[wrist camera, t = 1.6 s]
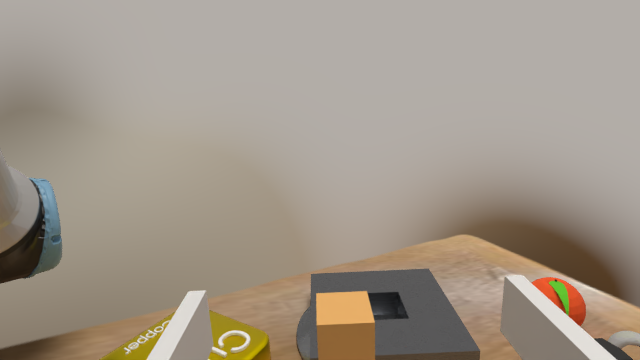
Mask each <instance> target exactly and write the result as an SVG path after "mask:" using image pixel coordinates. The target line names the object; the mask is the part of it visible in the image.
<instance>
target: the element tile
mask: <svg viewBox="0 0 640 360" xmlns="http://www.w3.org/2000/svg"><path fill="white" fill-rule="evenodd" d="M175 313H176V312H174V313H172V314H171V315H169V316H168V317H166V318H164V319H163V320H161V321H160V322H158V323H157V324H155V325H153V326H152V327H150V328H149V329H147V330H145V331H144V332H142V333H141V334H139V335H137V336H136V337H134V338H133V339H131V340H129V341H128V342H126V343H125V344H123V345H122V346H120V347H118V348H117V349H115V350H114V351H112V352H110V353H109V354H107V355H106V356H104V357H102V358H101V359H99V360H146V359H147V358H148V356H149V355H150V353H151V351H152V350H153V348H154V346H155V345H156V343H157V342H158V340H159V338H160V337H161V335H162V334H163V332H164V330H165V329H166V327H167V325H168V324H169V322H170V321H171V319H172V317H173V316H174V314H175ZM209 315H210V322H211V330H212V337H213V347H212V350H211V352H210V355H209V357H208V360H271V356H270V344H269V336H268V335H267V334H266V333H265V332H264V331H262V330H259V329H257V328H254V327H252V326H249V325H247V324H244V323H241V322H239V321H236V320H234V319H231V318H229V317H226V316H223V315H221V314H218V313H216V312H213V311H211V310H209Z"/></svg>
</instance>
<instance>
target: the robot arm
mask: <svg viewBox="0 0 640 360" xmlns="http://www.w3.org/2000/svg"><path fill="white" fill-rule="evenodd" d="M60 234H61V228H60V220H59V213H58V208H57V203H56V199H55V195H54V191H53V188H52V186H51V184H50V183H49V181H47V180H46V179H35V178H27V176H25V175H24V174H22V173H21V172H20V171H18V170H16V169H15V168H12V167H10V166H8V165H7V164H6V161H5V159H4V157H3V154H2V152H1V150H0V283H4V282H8V281H12V280H16V279H20V278H30V277H33V276H34V275H36V274H38V273H41V272H44V271H48V270H50V269H53V268H54V267H56V266H57V265H58V264H59V262H60V260H61V257H62V239H61V236H60ZM500 331H501V332H502V333H503V335H504V336H505V337H506V339H507V340H508V341H509V342H510V344H511V345H512V346H513V348H514V349H515V350H516V352H517V353H518V354H519V355H520V357H521V358H522V359H523V360H633V359H632V358H631V357H630V356H628V355H627V354H626V353H625V352H624V351H622V350H621V349H620V348H619V347H617V346H615V345H613V344H611V343H610V342H608V341H606V340H604V339H602V338H598V339H593V338H592V337H591V336H590V335H589V334H588V333H586V332H585V331H584V330H583V329H582V328H581V327H580V326H579V325H578V324H576V323H575V322H574V321H573V320H572V319H571V318H570V317H569V316H567V315H566V314H565V313H564V312H563V311H562V310H561V309H560V308H559V307H557V306H556V305H555V304H554V303H553V302H552V301H551V300H550V299H548V298H547V297H546V296H545V295H544V294H543V293H542V292H541V291H540V290H538V289H537V288H536V287H535V286H534V285H533V284H532V283H531V282H529V281H528V280H527V279H526V278H525V277H524V276H523V275H513V276H505V280H504V292H503V304H502V316H501V328H500ZM212 347H213V337H212V330H211V322H210V315H209V307H208V300H207V293H206V290H205V291H189V292H188V293H187V295H186V297H185V298H184V300H183V301H182V303H181V305H180V306H179V308H178V309H177V311H176V313H175V314H174V316H173V317H172V319H171V321H170V322H169V324H168V325H167V327H166V329H165V330H164V332H163V334H162V335H161V337H160V338H159V340H158V342H157V343H156V345H155V346H154V348H153V350H152V351H151V353H150V355H149V356H148V358H147V359H146V360H208V357H209V355H210V352H211V350H212Z"/></svg>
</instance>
